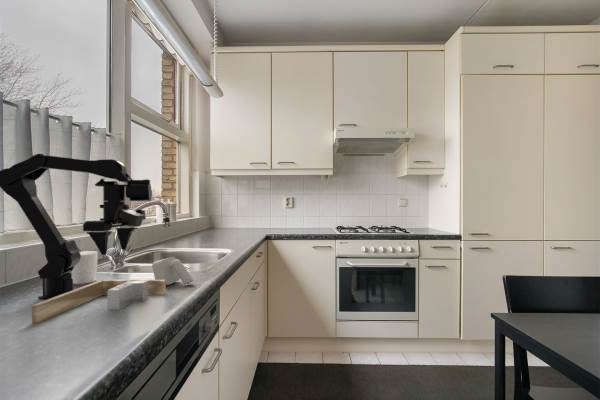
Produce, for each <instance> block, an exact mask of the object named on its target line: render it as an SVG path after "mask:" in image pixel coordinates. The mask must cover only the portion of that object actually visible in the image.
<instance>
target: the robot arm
mask: <svg viewBox="0 0 600 400" xmlns="http://www.w3.org/2000/svg"><path fill="white" fill-rule="evenodd" d="M48 170H59V171H67V172H76V173H84V174H85V173H87V174H92V175H95V176H99V177H103V178H101V179H100V180H99V181H97V182H96V183H95V184H94V185H95V187H103V188H102V189H103V190H102V192H103V193H102V194H103V197H102V199H103V200H102V202H103V204H99V209H102V210H103V212H102V215H103V218H99V220H98V219H97V220H95V219H94V220H86V221H85V222H84V223H83V224H82V231H83V232H86V234H87V235H89V236H90V238H91V239H92V240H93V242H94V244H95V246H96V247H97V249H98V250H99V253H100V254H101V256H102V255H103V256H106V255H107V251H108V245H109V244H108V243H109V236H110V235H111V234H112V233H113V230H112V228H115V229H116V233H117V237H118V241H119V245H120V248H121V250H122V251H126V250H127V248H128V246H129V245H128V244H129V243H130V242H129V241H130V239H131V236H132V234H133V232H135V231H136V230H138V229H139V227H141V225H142V223H143V221H145V220H146V219H147V217H146V211H145V210H144V209H142V208H138V209H136V210H133V209H132V210H131V209H130V206H129V204H126V198H127V199H129V201H130V202H151V201H152V198H153V190H152V185H151V180H150V179H147V178H145V179H133V178H132V177H131V176H130V175H129V174H128V173H127V172H128V170H127V167H126V165H125V164H124V163H122V162H120V161H118V160H116V159H111V158H110V159H94V160H91V159H90V160H88V159H81V158H80V159H79V158H70V157H63V156H56V155H46V154H44V153H37V154H34V155H32V156H31V157H29V158H27V159H25V160H22V161H21V162H17V163H15V164H14V165H11V166H10V167H9V168H3V169H1V170H0V189H1V190H2V191H3V192H4V193H5V194H6V195H8V196H10V197H11V198H12V199H13V200H14V201H16V202H17V203H18V205H19V207H20V209H21V210H22V212H23V213H24V215H25V216H26V218H27V220H28V221H29V223H30V225H31V226H32V227H33V229H34V231H35V232H36V234H37V236H38V237H39V239H40V241H42V244H43V246H44V257H45V259H46V262H47V263H46V264H45V265H44V266H43V267H41V268H40V269H39V270H38V271H37V273H38V275H39V277H40V279H42V295H40V296H38V297H37V299H38V300H39V299H41V300H44V299H45V300H48V299H51V298H53V297H56V296H59V295H62V294H64V293H67V292H70V291H72V290H74V284H73V279H72V273H71V271H73V268H74V266H75V265H76V264H78V262H79V261H80V258H81V255H80V253H79V252H82V250H81V249H80V248H78V245H77V243H76V241H75V240H74V239H72V240H69V241H68V240H67V239H65V238H64V237H63V236H62V234H61V233H60V231H59V230H58V228H57V225H56V224H55V223H54V220H53V219H52V218H51V216H50V215H49V213H48V211H47V210H46V208H45V207H44V205H43V203H42V202H41V200H40V198H39V197H38V193H37V192H38V190H37V184H36V182H35V181H36V180H38V179H40V178H41V177H42V176H43V175H44V173H46V171H48ZM105 178H106V179H110V180H106V179H105ZM118 182H121V183H126V184H119V183H118Z"/></svg>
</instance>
